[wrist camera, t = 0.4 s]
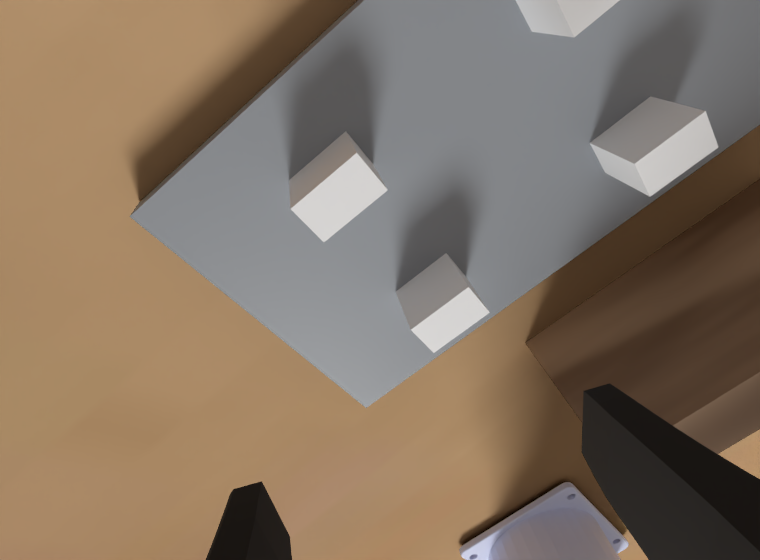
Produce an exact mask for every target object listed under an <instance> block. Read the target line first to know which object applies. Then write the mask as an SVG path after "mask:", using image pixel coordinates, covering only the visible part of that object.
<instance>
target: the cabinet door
mask: <svg viewBox="0 0 760 560" xmlns="http://www.w3.org/2000/svg"><path fill="white" fill-rule="evenodd" d="M526 345H527V346H528V347H529V349H530V350H531V352H532V353H533V354H534V356H535V357H536V359H537V360H538V361H539V363H540V364H541V366H542V367H543V368H544V370H545V371H546V373H547V374H548V375H549V377H550V378H551V380H552V381H553V382H554V384H555V385H556V387H557V388H558V390H559V391H560V392H561V394H562V395H563V397H564V398H565V399H566V401H567V402H568V404H569V405H570V406H571V408H572V409H573V411H574V412H575V413H576V415H577V416H578V418H579V419H580V420H581V422H582V423H583V391H585V390H588V389H592V388H595V387H599V386H602V385H606V384H609V383H610V384H612V385H613V386H615V387H616V388H618V389H619V390H621V391H622V392H624V393H625V394H627V395H628V396H630V397H631V398H633V399H634V400H635V401H637V402H638V403H640V404H641V405H643V406H644V407H646V408H647V409H649V410H650V411H652V412H653V413H655V414H656V415H658V416H659V417H661V418H662V419H664V420H665V421H667V422H668V423H670V424H671V425H673V426H674V427H676V428H677V429H679V430H680V431H682V432H683V433H685V434H686V435H688V436H689V437H691V438H693V439H694V440H696V441H697V442H699V443H701V444H702V445H704V446H705V447H707V448H709V449H710V450H712V451H713V452H715V453H716V454H718V453H720V452H722V451H724V450H725V449H727V448H729V447H730V446H732V445H734V444H735V443H737V442H739V441H740V440H742V439H744V438H745V437H747V436H749V435H751V434H752V433H754V432H756V431H757V430H759V429H760V179H759V180H758V181H757V182H755V183H754V184H752V185H751V186H749V187H748V188H747V189H745V190H744V191H742V192H741V193H739V194H738V195H737V196H735V197H734V198H732V199H731V200H729V201H728V202H726V203H725V204H724V205H722V206H721V207H719V208H718V209H716V210H715V211H714V212H712V213H711V214H709V215H708V216H706V217H705V218H704V219H702V220H701V221H699V222H698V223H696V224H695V225H693V226H692V227H691V228H689V229H688V230H686V231H685V232H683V233H682V234H681V235H679V236H678V237H676V238H675V239H673V240H672V241H671V242H669V243H668V244H666V245H665V246H663V247H662V248H660V249H659V250H658V251H656V252H655V253H653V254H652V255H650V256H649V257H648V258H646V259H645V260H643V261H642V262H640V263H639V264H638V265H636V266H635V267H633V268H632V269H630V270H629V271H627V272H626V273H625V274H623V275H622V276H620V277H619V278H617V279H616V280H615V281H613V282H612V283H610V284H609V285H607V286H606V287H605V288H603V289H602V290H600V291H599V292H597V293H596V294H595V295H593V296H592V297H590V298H589V299H587V300H586V301H584V302H583V303H582V304H580V305H579V306H577V307H576V308H574V309H573V310H572V311H570V312H569V313H567V314H566V315H564V316H563V317H562V318H560V319H559V320H557V321H556V322H554V323H553V324H551V325H550V326H549V327H547V328H546V329H544V330H543V331H541V332H540V333H539V334H537V335H536V336H534V337H533V338H531V339H530V340H529V341H527V342H526Z"/></svg>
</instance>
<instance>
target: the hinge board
mask: <svg viewBox="0 0 760 560" xmlns="http://www.w3.org/2000/svg"><path fill="white" fill-rule="evenodd" d="M759 125H760V0H358V1H357V2H356V3H355V4H353V5H352V6H351V7H350V8H349V9H348V10H347V11H346V12H345V13H344V14H343V15H342V16H341V17H339V18H338V19H337V20H336V21H335V22H334V23H333V24H332V25H331V26H330V27H329V28H328V29H326V30H325V31H324V32H323V33H322V34H321V35H320V36H319V37H318V38H317V39H316V40H315V41H313V42H312V43H311V44H310V45H309V46H308V47H307V48H306V49H305V50H304V51H303V52H302V53H300V54H299V55H298V56H297V57H296V58H295V59H294V60H293V61H292V62H291V63H290V64H289V65H288V66H286V67H285V68H284V69H283V70H282V71H281V72H280V73H279V74H278V75H277V76H276V77H275V78H273V79H272V80H271V81H270V82H269V83H268V84H267V85H266V86H265V87H264V88H263V89H262V90H260V91H259V92H258V93H257V94H256V95H255V96H254V97H253V98H252V99H251V100H250V101H249V102H248V103H246V104H245V105H244V106H243V107H242V108H241V109H240V110H239V111H238V112H237V113H236V114H235V115H233V116H232V117H231V118H230V119H229V120H228V121H227V122H226V123H225V124H224V125H223V126H222V127H220V128H219V129H218V130H217V131H216V132H215V133H214V134H213V135H212V136H211V137H210V138H209V139H207V140H206V141H205V142H204V143H203V144H202V145H201V146H200V147H199V148H198V149H197V150H196V151H195V152H193V153H192V154H191V155H190V156H189V157H188V158H187V159H186V160H185V161H184V162H183V163H182V164H180V165H179V166H178V167H177V168H176V169H175V170H174V171H173V172H172V173H171V174H170V175H169V176H167V177H166V178H165V179H164V180H163V181H162V182H161V183H160V184H159V185H158V186H157V187H156V188H155V189H153V190H152V191H151V192H150V193H149V194H148V195H147V196H146V197H145V198H144V199H143V200H142V201H140V202H139V204H138V205H137V206H136V208H135V209H134V211H133V212H132V214H131V215H130V217H131V218H132V219H133V220H135V221H136V222H137V223H138V224H139V225H141V226H142V227H143V228H144V229H146V230H147V231H148V232H149V233H151V234H152V235H153V236H154V237H156V238H157V239H158V240H159V241H160V242H162V243H163V244H164V245H165V246H167V247H168V248H169V249H170V250H172V251H173V252H174V253H175V254H177V255H178V256H179V257H180V258H182V259H183V260H184V261H185V262H186V263H188V264H189V265H190V266H191V267H193V268H194V269H195V270H196V271H198V272H199V273H200V274H201V275H203V276H204V277H205V278H206V279H207V280H209V281H210V282H211V283H212V284H214V285H215V286H216V287H217V288H219V289H220V290H221V291H222V292H224V293H225V294H226V295H227V296H228V297H230V298H231V299H232V300H233V301H235V302H236V303H237V304H238V305H240V306H241V307H242V308H243V309H245V310H246V311H247V312H248V313H249V314H251V315H252V316H253V317H254V318H256V319H257V320H258V321H259V322H261V323H262V324H263V325H264V326H266V327H267V328H268V329H269V330H270V331H272V332H273V333H274V334H275V335H277V336H278V337H279V338H280V339H282V340H283V341H284V342H285V343H287V344H288V345H289V346H290V347H291V348H293V349H294V350H295V351H296V352H298V353H299V354H300V355H301V356H303V357H304V358H305V359H306V360H308V361H309V362H310V363H311V364H313V365H314V366H315V367H316V368H317V369H319V370H320V371H321V372H322V373H324V374H325V375H326V376H327V377H329V378H330V379H331V380H332V381H334V382H335V383H336V384H337V385H338V386H340V387H341V388H342V389H343V390H345V391H346V392H347V393H348V394H350V395H351V396H352V397H353V398H355V399H356V400H357V401H358V402H359V403H361V404H362V405H363V406H364V407H366V408H367V407H368V406H370V405H371V404H372V403H374V402H375V401H376V400H378V399H379V398H381V397H382V396H383V395H385V394H386V393H388V392H389V391H390V390H392V389H393V388H395V387H396V386H397V385H399V384H400V383H401V382H403V381H404V380H406V379H407V378H408V377H410V376H411V375H413V374H414V373H415V372H417V371H418V370H420V369H421V368H422V367H424V366H425V365H426V364H428V363H429V362H431V361H432V360H433V359H435V358H436V357H438V356H439V355H440V354H442V353H443V352H445V351H446V350H447V349H449V348H450V347H452V346H453V345H454V344H456V343H457V342H458V341H460V340H461V339H463V338H464V337H465V336H467V335H468V334H470V333H471V332H472V331H474V330H475V329H477V328H478V327H479V326H481V325H482V324H483V323H485V322H486V321H488V320H489V319H490V318H492V317H493V316H495V315H496V314H497V313H499V312H500V311H502V310H503V309H504V308H506V307H507V306H508V305H510V304H511V303H513V302H514V301H515V300H517V299H518V298H520V297H521V296H522V295H524V294H525V293H527V292H528V291H529V290H531V289H532V288H533V287H535V286H536V285H538V284H539V283H540V282H542V281H543V280H545V279H546V278H547V277H549V276H550V275H552V274H553V273H554V272H556V271H557V270H558V269H560V268H561V267H563V266H564V265H565V264H567V263H568V262H570V261H571V260H572V259H574V258H575V257H577V256H578V255H579V254H581V253H582V252H583V251H585V250H586V249H588V248H589V247H590V246H592V245H593V244H595V243H596V242H597V241H599V240H600V239H602V238H603V237H604V236H606V235H607V234H609V233H610V232H611V231H613V230H614V229H615V228H617V227H618V226H620V225H621V224H622V223H624V222H625V221H627V220H628V219H629V218H631V217H632V216H634V215H635V214H636V213H638V212H639V211H640V210H642V209H643V208H645V207H646V206H647V205H649V204H650V203H652V202H653V201H654V200H656V199H657V198H659V197H660V196H661V195H663V194H664V193H665V192H667V191H668V190H670V189H671V188H672V187H674V186H675V185H677V184H678V183H679V182H681V181H682V180H684V179H685V178H686V177H688V176H689V175H690V174H692V173H693V172H695V171H696V170H697V169H699V168H700V167H702V166H703V165H704V164H706V163H707V162H709V161H710V160H711V159H713V158H714V157H715V156H717V155H718V154H720V153H721V152H722V151H724V150H725V149H727V148H728V147H729V146H731V145H732V144H734V143H735V142H736V141H738V140H739V139H741V138H742V137H743V136H745V135H746V134H747V133H749V132H750V131H752V130H753V129H754V128H756V127H757V126H759Z"/></svg>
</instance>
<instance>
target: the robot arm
mask: <svg viewBox="0 0 760 560" xmlns="http://www.w3.org/2000/svg"><path fill="white" fill-rule="evenodd" d="M582 454H583V456H584V458H585V460H586V461H587V463H588V465H589V467H590V469H591V471H592V473H593V475H594V477H595V478H596V480H597V482H598V484H599V486H600V487H601V489H602V491H603V493H604V495H605V496H606V498H607V499H608V501H609V502H610V504H611V505H612V507H613V508H614V510H615V511H616V513H617V514H618V516H619V517H620V519H621V520H622V521H623V523H624V524H625V526H626V527H627V529H628V530H629V532H630V533H631V535H632V536H633V537H634V539H635V540H636V542H637V543H638V545H639V546H640V547H641V549H642V550H643V552H644V553H645V555H646V556H647V558H648V559H649V560H760V479H758V478H756V477H755V476H753V475H751V474H749V473H748V472H746V471H744V470H743V469H741V468H739V467H738V466H736V465H734V464H733V463H731V462H729V461H728V460H726V459H724V458H723V457H721V456H720V455H718V454H716V453H715V452H713V451H712V450H710V449H709V448H707V447H705V446H704V445H702V444H701V443H699V442H697V441H696V440H694V439H693V438H691V437H689V436H688V435H686V434H685V433H683V432H682V431H680V430H679V429H677V428H676V427H674V426H673V425H671V424H670V423H668V422H667V421H665V420H664V419H662V418H661V417H659V416H658V415H656V414H655V413H653V412H652V411H650V410H649V409H647V408H646V407H644V406H643V405H641V404H640V403H638V402H637V401H635V400H634V399H633V398H631V397H630V396H628V395H627V394H625V393H624V392H622V391H621V390H619V389H618V388H616V387H615V386H613V385H612V384H610V383H609V384H606V385H602V386H599V387H595V388H592V389H588V390H585V391H583V425H582ZM628 544H629V543H628V542H627V540H626V538H625V537H624V536H623V535H622V534H621V533H620V532H619V531H618V530H617V529H616V528H615V527H614V526H613V525H612V524H611V523H610V522H609V521H608V520H607V519H606V518H605V517H604V516H603V515H602V514H601V513H600V512H599V511H598V510H597V509H596V508H595V506H594V505H593V504H592V503H591V502H590V501H589V500H588V499H587V498H586V497H585V496H584V495H583V494H582V493H581V492H580V491H579V490H578V489H577V488H576V487H575V486H574V485H573V484H572V483H570V482H565V483H562V484H560V485H559V486H557V487H555V488H554V489H552V490H551V491H549V492H547V493H546V494H544V495H543V496H541V497H539V498H538V499H536V500H535V501H533V502H531V503H530V504H528V505H527V506H525V507H523V508H522V509H520V510H519V511H517V512H515V513H514V514H512V515H510V516H509V517H507V518H506V519H504V520H502V521H501V522H499V523H498V524H496V525H494V526H493V527H491V528H490V529H488V530H486V531H485V532H483V533H482V534H480V535H478V536H477V537H475V538H474V539H472V540H470V541H469V542H467V543H465V544H464V545H462V546H461V548H460V554H461V556H462V557H463V558H464V559H466V560H621V559H620V558H619V556H618V554H617V553H619V552H621V551H623V550H624V549H626V548H627V547H628ZM206 560H292V556H291V545H290V536H289V534H288V532H287V530H286V528H285V526H284V524H283V522H282V520H281V518H280V516H279V514H278V513H277V511H276V509H275V507H274V505H273V503H272V501H271V499H270V497H269V495H268V493H267V491H266V489H265V487H264V485H263V483H262V481H261V482H258V483H254V484H251V485H247V486H244V487H240V488H237V489H234V490H233V491H232V492H231V494H230V496H229V499H228V502H227V505H226V508H225V510H224V513H223V516H222V519H221V521H220V524H219V527H218V530H217V532H216V535H215V537H214V540H213V543H212V545H211V548H210V550H209V553H208V555H207V558H206Z"/></svg>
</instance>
